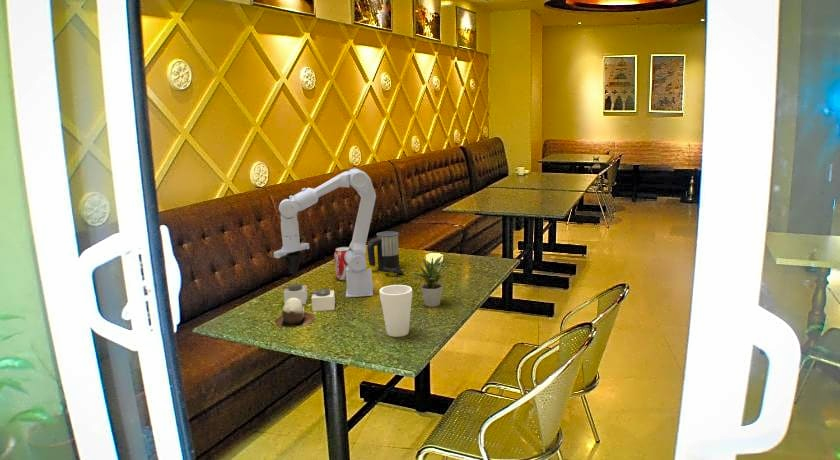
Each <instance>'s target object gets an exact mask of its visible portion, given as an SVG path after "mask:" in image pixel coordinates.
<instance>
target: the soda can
mask: <svg viewBox="0 0 840 460" xmlns="http://www.w3.org/2000/svg"><path fill="white" fill-rule="evenodd" d="M348 249H349V246H340V247H336V248H335V251H334V255H333V257H334V271H335V272H334V273H335V278H336V279H337V280H339V281H341V282H342V281H343V282H344V281H345V282H346V267H347V265H348V264H347V263H346V261H345V258H344V256H345V253H346V252H347V250H348Z"/></svg>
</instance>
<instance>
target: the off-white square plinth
mask: <svg viewBox="0 0 840 460" xmlns="http://www.w3.org/2000/svg"><path fill="white" fill-rule="evenodd" d="M310 300H311V310H312V312H322V311H323V312H324V311H325V312H326V311H335V305H336V296H335V290H333V289H332V290H331V289H330V294H329V295H327V296H316V294H311V299H310Z"/></svg>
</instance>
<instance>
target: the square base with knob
mask: <svg viewBox="0 0 840 460" xmlns="http://www.w3.org/2000/svg"><path fill="white" fill-rule="evenodd" d="M288 286H289V285H288ZM288 286H286V287H288ZM290 298H298V299H300V300H301V301H302V302H303V305H306V304H307V301H308V298H309V297H308V286H307V285H303V284H302V289H301V290H298V291H289V290H288V289H284V290H283V299H284V302H283V303H284V304H285V302H286V301H287V300H288V299H290Z"/></svg>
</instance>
